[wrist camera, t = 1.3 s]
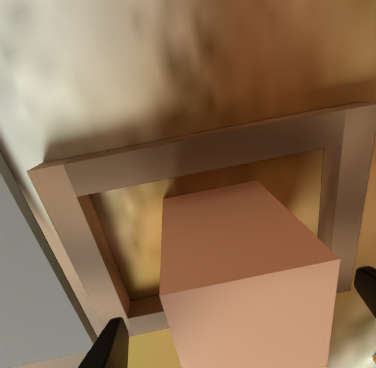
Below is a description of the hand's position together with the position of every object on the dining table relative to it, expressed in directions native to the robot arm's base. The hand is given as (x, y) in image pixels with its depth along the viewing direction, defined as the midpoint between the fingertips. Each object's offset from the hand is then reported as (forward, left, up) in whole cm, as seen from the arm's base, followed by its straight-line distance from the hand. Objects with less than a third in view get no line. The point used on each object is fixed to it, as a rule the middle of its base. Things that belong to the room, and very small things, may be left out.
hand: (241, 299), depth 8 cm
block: (0, 0, -5) cm, 5 cm away
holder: (0, 0, -4) cm, 5 cm away
